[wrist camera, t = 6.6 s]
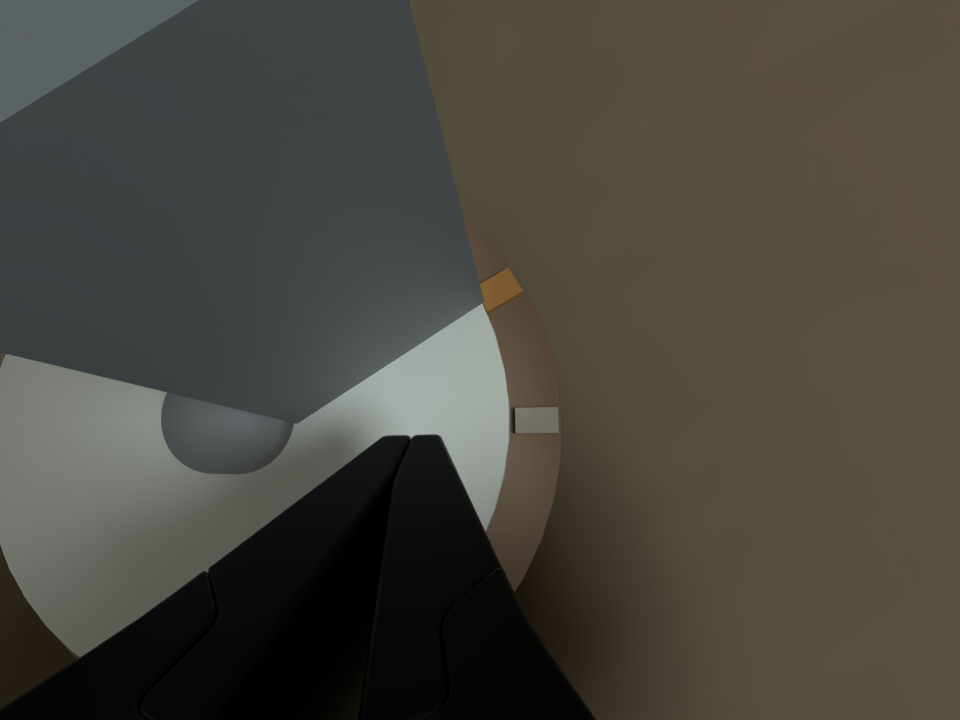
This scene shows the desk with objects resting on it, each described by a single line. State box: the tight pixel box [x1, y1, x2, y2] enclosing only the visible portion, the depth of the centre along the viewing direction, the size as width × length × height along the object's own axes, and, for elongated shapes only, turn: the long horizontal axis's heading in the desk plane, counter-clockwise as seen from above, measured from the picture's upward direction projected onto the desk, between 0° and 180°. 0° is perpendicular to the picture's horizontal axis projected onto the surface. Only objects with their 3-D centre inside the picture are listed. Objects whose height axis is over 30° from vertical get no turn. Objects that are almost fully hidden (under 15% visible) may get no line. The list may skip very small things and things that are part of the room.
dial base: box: [54, 217, 562, 660], centre depth 16 cm, size 14×14×2 cm
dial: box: [0, 0, 510, 657], centre depth 10 cm, size 12×12×12 cm
